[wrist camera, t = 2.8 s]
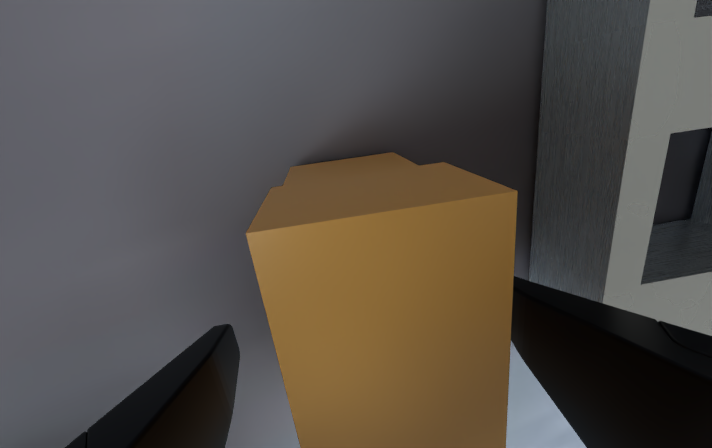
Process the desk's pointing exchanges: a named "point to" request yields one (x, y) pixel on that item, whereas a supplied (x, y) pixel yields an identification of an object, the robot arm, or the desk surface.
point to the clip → (390, 301)
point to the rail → (623, 157)
